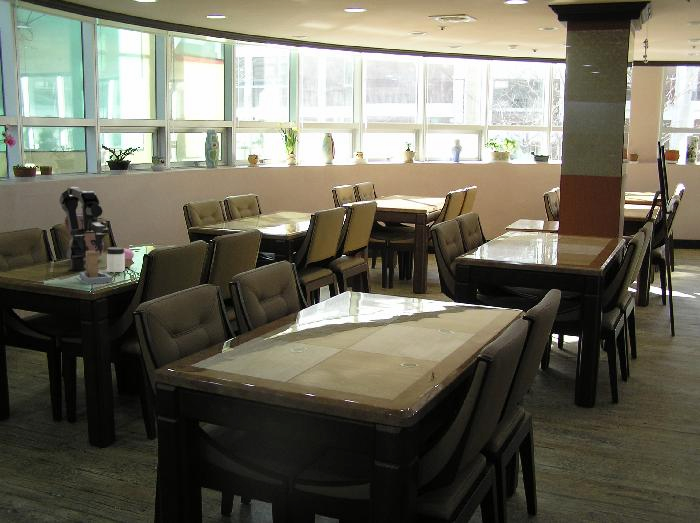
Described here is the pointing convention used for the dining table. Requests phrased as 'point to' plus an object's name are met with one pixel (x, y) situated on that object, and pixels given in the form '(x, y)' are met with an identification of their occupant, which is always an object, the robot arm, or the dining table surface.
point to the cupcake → (128, 257)
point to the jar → (115, 259)
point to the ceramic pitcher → (87, 237)
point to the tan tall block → (92, 264)
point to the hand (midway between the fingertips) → (90, 249)
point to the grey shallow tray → (100, 279)
